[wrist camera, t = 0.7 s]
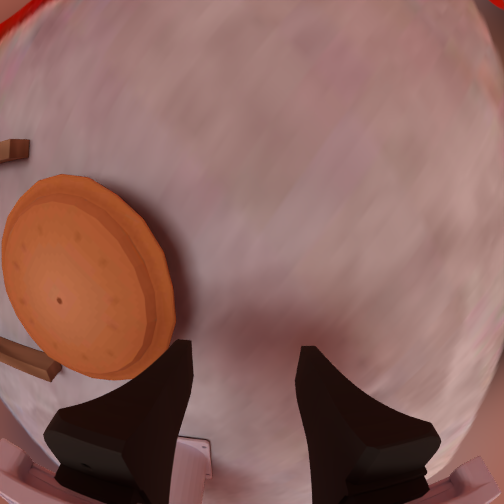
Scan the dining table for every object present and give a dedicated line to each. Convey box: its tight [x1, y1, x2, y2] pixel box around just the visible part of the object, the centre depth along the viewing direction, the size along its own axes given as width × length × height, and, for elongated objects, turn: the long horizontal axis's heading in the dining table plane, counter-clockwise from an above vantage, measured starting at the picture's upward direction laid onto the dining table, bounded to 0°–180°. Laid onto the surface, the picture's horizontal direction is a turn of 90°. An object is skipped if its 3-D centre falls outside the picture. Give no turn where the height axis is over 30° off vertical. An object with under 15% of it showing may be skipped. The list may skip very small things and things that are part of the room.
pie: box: [2, 174, 176, 380], centre depth 17 cm, size 15×16×5 cm
